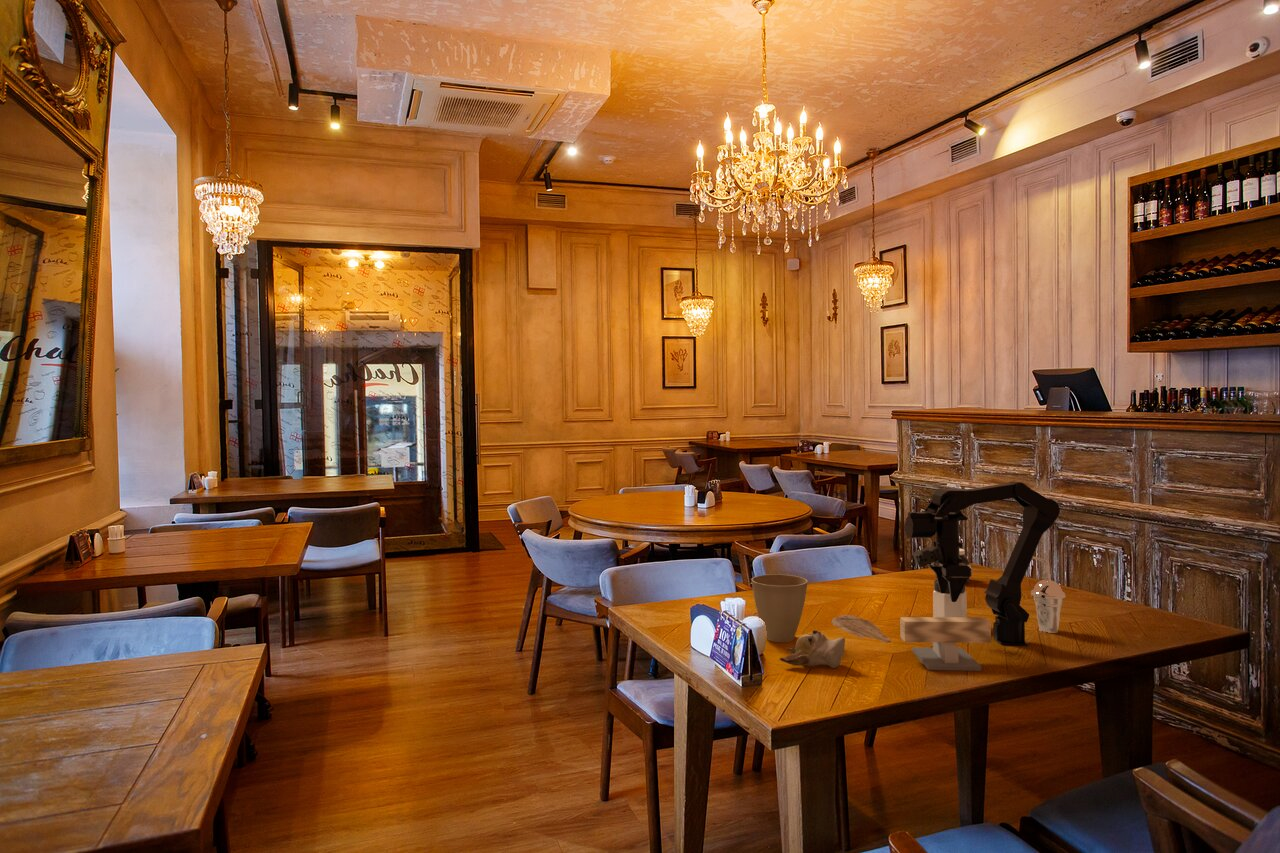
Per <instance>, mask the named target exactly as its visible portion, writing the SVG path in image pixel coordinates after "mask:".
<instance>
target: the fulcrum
mask: <svg viewBox="0 0 1280 853" xmlns="http://www.w3.org/2000/svg"><path fill="white" fill-rule="evenodd" d="M911 648H912V653H913V654H914V656H915V657H916V658H918V660H919V661H920V662H921V663H922V665H923V666H924V667H925V669H927V671H966V672H967V671H971V672H973V671H974V672H975V671H977V672H980V671H982V666H981V664H980V663H978V661H977V660H975V659H974V658H973V657H972V656H971V655H970V654H969V653H968V652H967V651H965V649H963V648H962V647H959V646H958V645H957V643H942V642H932V647H911Z"/></svg>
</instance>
